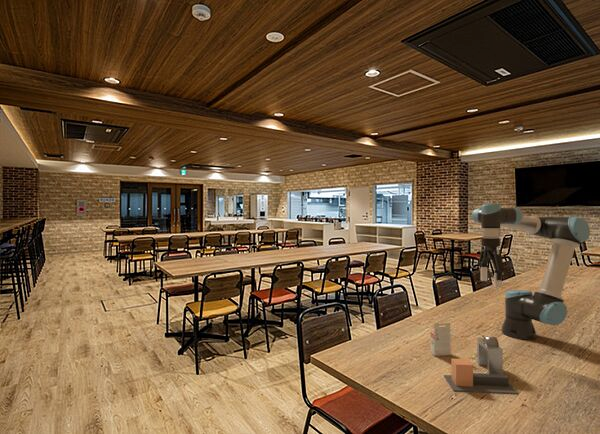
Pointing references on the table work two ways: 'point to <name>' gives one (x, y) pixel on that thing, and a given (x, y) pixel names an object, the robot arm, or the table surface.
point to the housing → (490, 355)
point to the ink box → (441, 340)
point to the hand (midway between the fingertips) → (490, 284)
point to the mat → (481, 388)
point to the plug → (474, 375)
